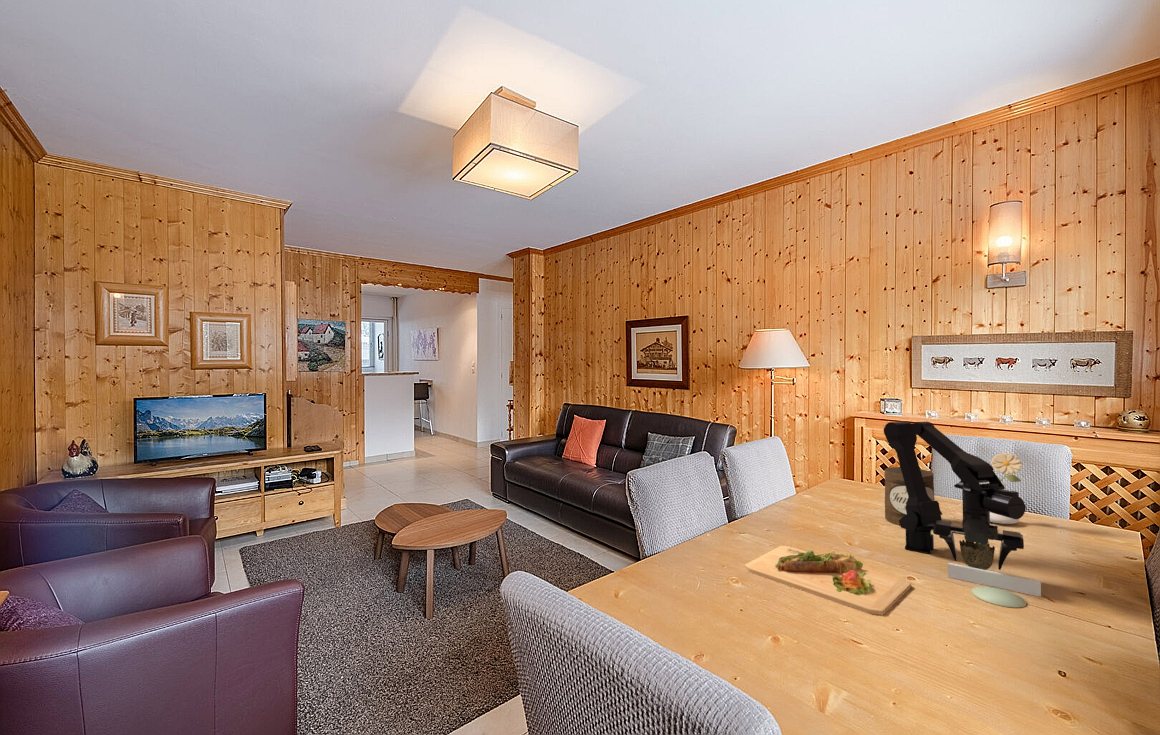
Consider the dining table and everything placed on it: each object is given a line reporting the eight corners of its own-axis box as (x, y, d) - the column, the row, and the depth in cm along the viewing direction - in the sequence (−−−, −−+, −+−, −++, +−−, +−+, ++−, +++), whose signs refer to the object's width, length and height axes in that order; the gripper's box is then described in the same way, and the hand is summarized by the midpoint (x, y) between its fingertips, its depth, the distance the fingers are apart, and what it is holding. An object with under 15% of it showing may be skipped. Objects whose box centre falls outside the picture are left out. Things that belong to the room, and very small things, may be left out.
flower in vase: (969, 519, 173) (968, 450, 173) (987, 514, 178) (986, 447, 178) (1014, 530, 161) (1013, 456, 161) (1032, 525, 166) (1031, 452, 166)
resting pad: (971, 599, 117) (971, 598, 117) (972, 584, 124) (972, 583, 124) (1027, 612, 110) (1027, 610, 110) (1024, 595, 118) (1024, 594, 118)
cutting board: (913, 587, 125) (912, 558, 125) (880, 620, 110) (879, 587, 110) (782, 549, 151) (782, 526, 151) (742, 572, 136) (741, 545, 136)
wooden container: (892, 526, 168) (891, 464, 168) (879, 513, 182) (878, 455, 182) (942, 530, 163) (941, 465, 163) (925, 516, 178) (924, 457, 177)
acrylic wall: (948, 577, 129) (947, 564, 129) (948, 575, 129) (948, 562, 129) (1041, 596, 117) (1040, 582, 117) (1040, 594, 118) (1040, 580, 118)
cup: (1002, 580, 126) (1001, 549, 126) (970, 578, 128) (969, 548, 128) (984, 568, 133) (983, 539, 133) (954, 566, 135) (953, 538, 135)
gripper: (931, 509, 130) (932, 566, 130) (1024, 522, 118) (1025, 585, 118) (934, 499, 139) (935, 553, 139) (1021, 511, 127) (1022, 569, 127)
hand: (976, 565), depth 131 cm, fingers open, 9 cm apart
